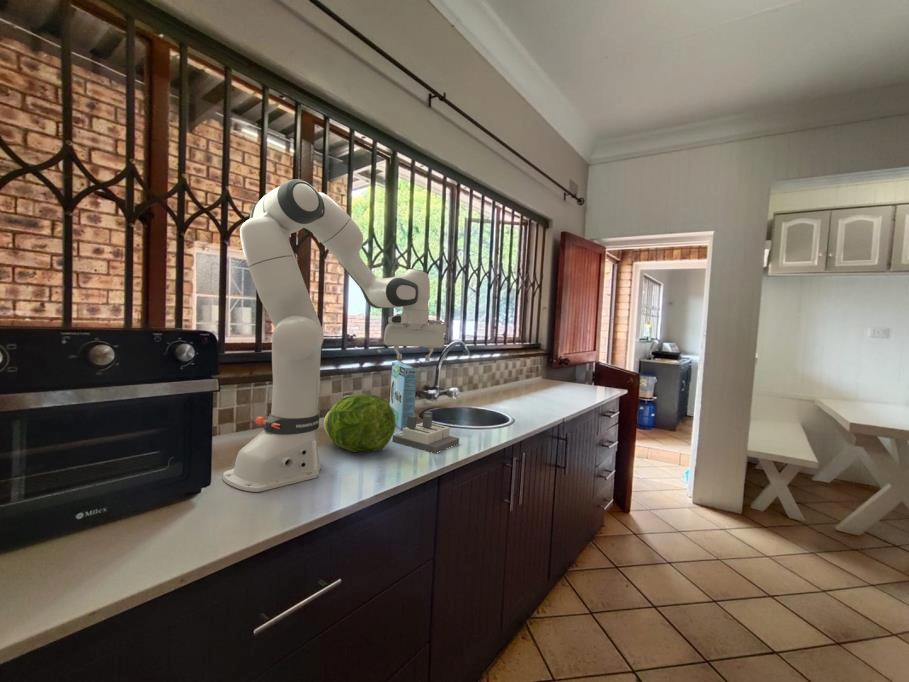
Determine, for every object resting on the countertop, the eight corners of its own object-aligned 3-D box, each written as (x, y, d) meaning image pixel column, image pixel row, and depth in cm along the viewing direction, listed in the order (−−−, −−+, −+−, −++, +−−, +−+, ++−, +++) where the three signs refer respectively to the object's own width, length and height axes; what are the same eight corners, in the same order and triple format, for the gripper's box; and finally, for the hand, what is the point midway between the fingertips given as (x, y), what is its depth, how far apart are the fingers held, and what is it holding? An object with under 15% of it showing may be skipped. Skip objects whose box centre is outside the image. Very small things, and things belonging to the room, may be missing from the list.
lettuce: (351, 436, 136) (341, 387, 134) (408, 439, 125) (399, 386, 122) (312, 459, 121) (300, 404, 118) (373, 465, 110) (361, 405, 107)
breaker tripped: (427, 428, 132) (428, 417, 132) (422, 426, 133) (423, 415, 133) (431, 426, 134) (432, 415, 134) (426, 425, 135) (427, 414, 135)
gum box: (413, 430, 148) (418, 368, 147) (399, 430, 146) (404, 367, 145) (399, 417, 166) (404, 361, 165) (387, 417, 164) (391, 361, 163)
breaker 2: (427, 423, 138) (428, 413, 137) (423, 422, 139) (423, 412, 138) (431, 422, 140) (432, 412, 139) (427, 421, 141) (427, 411, 140)
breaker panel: (435, 453, 124) (436, 437, 123) (392, 441, 132) (393, 426, 132) (458, 444, 136) (459, 429, 135) (417, 433, 144) (418, 419, 144)
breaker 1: (411, 428, 130) (412, 417, 130) (406, 427, 131) (407, 416, 131) (416, 427, 132) (417, 416, 132) (411, 426, 133) (412, 415, 133)
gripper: (446, 320, 139) (444, 360, 139) (386, 317, 138) (384, 357, 139) (446, 320, 132) (444, 362, 133) (383, 317, 132) (381, 359, 133)
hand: (413, 360), depth 136 cm, fingers open, 8 cm apart
